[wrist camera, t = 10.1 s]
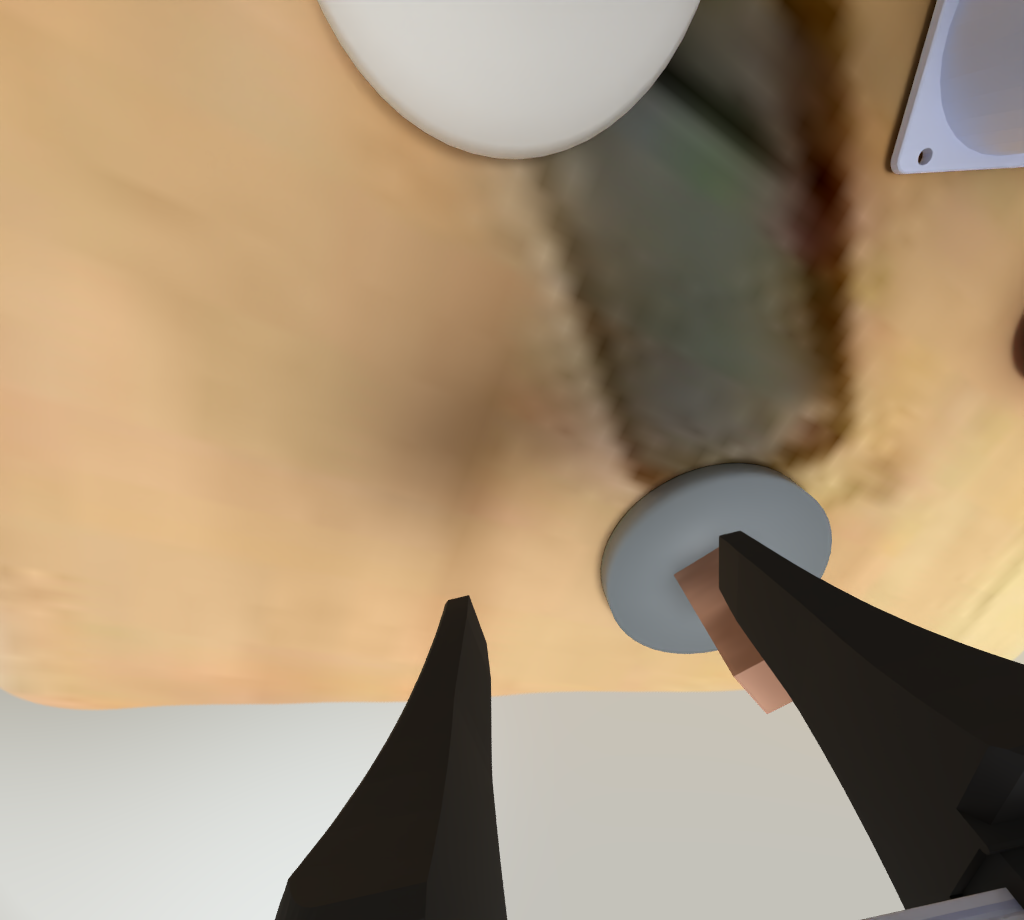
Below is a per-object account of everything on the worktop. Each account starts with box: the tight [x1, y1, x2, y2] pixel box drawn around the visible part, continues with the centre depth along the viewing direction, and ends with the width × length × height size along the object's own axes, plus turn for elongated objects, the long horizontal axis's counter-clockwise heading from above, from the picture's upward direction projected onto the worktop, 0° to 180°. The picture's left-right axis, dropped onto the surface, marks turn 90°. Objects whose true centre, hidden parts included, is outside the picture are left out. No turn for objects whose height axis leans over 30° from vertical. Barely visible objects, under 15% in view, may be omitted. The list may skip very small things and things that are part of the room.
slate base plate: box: [601, 463, 832, 654], centre depth 25 cm, size 12×12×2 cm
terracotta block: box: [674, 547, 792, 714], centre depth 22 cm, size 4×4×6 cm
